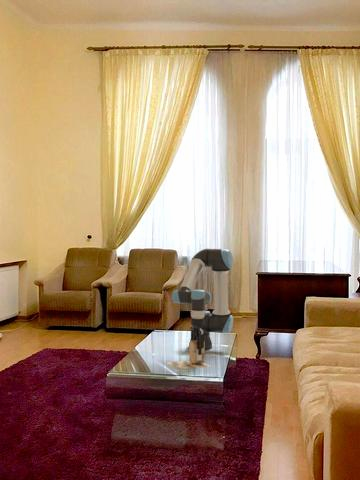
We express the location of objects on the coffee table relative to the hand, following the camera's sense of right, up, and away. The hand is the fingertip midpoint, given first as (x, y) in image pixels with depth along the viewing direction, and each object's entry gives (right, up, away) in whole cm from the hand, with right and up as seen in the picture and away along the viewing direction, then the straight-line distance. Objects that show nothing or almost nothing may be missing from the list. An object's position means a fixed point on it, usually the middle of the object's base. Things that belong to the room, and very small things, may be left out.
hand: (196, 359), depth 305 cm
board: (-5, -4, -2) cm, 6 cm away
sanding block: (0, -2, 0) cm, 2 cm away
